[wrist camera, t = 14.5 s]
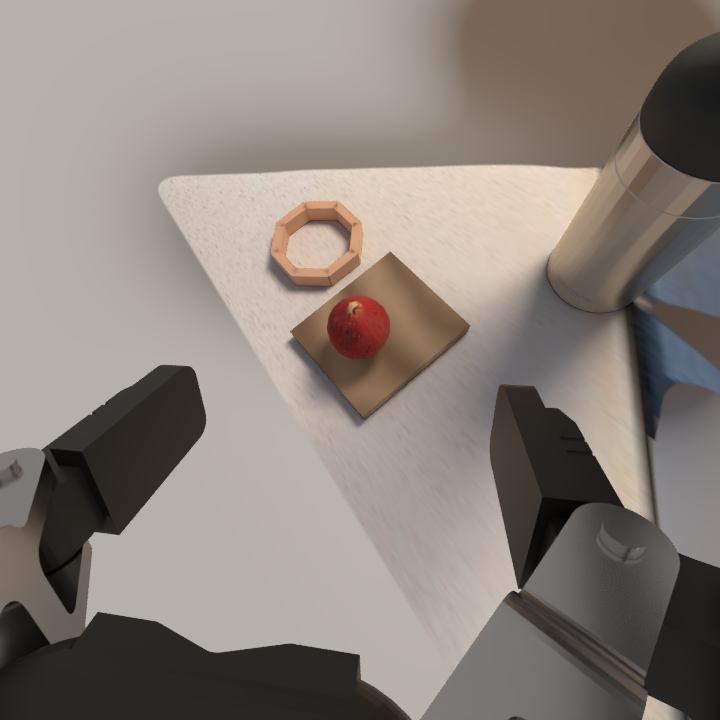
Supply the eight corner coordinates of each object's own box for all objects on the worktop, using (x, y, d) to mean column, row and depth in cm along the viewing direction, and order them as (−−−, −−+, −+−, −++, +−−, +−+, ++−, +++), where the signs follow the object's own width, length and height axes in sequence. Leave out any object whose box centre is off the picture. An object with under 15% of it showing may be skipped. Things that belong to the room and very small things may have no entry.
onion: (377, 378, 38) (369, 349, 30) (325, 357, 39) (305, 325, 31) (400, 327, 39) (398, 287, 31) (349, 309, 40) (335, 267, 33)
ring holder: (326, 199, 47) (323, 187, 45) (379, 248, 44) (378, 237, 42) (262, 247, 46) (256, 237, 44) (311, 302, 43) (307, 293, 41)
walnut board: (391, 259, 43) (390, 251, 42) (467, 331, 40) (469, 325, 38) (294, 336, 42) (290, 331, 40) (364, 419, 38) (362, 416, 36)
